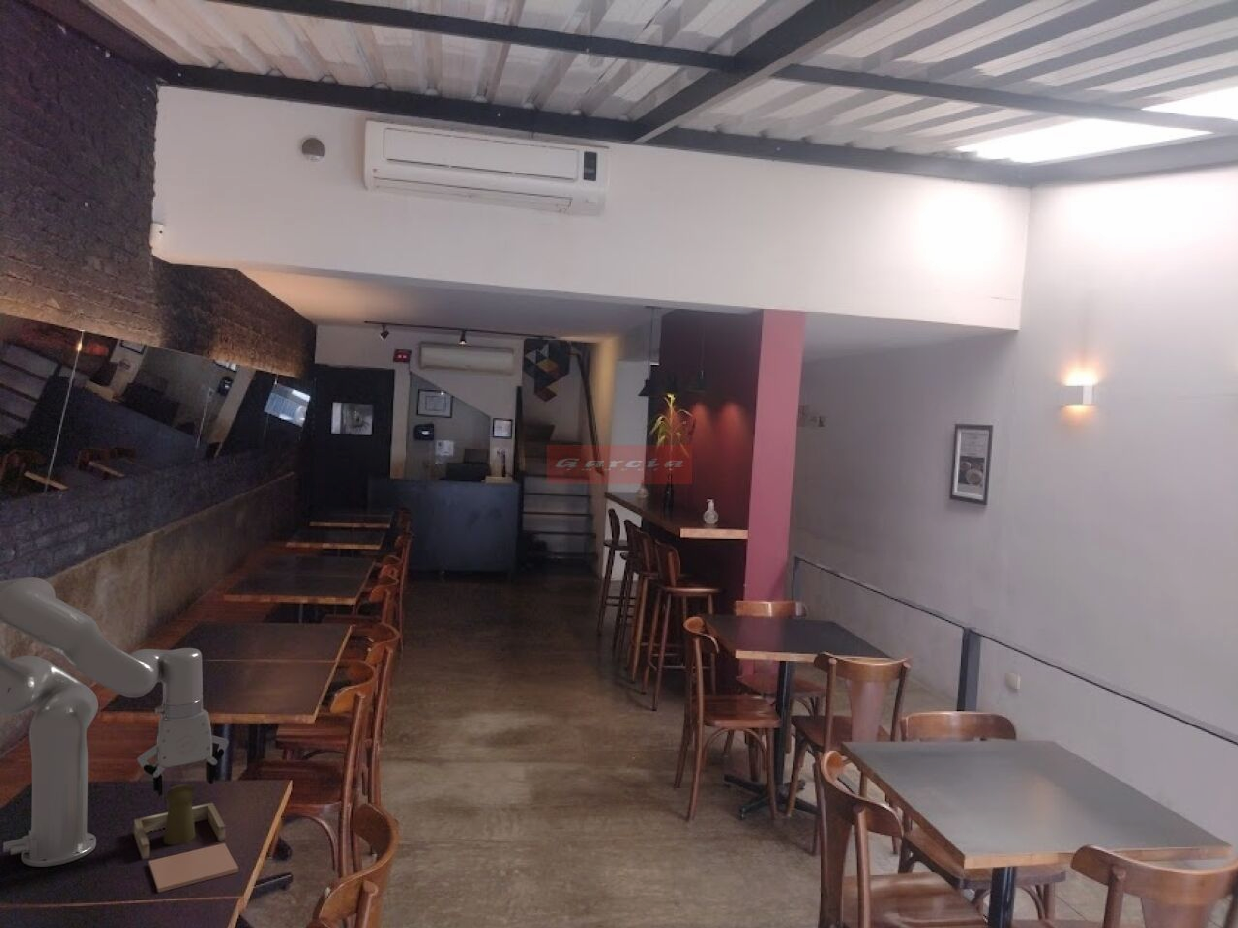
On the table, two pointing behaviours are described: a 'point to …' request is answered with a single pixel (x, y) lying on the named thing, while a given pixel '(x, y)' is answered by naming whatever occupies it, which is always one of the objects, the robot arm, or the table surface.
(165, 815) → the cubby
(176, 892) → the table surface
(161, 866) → the tile
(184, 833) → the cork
